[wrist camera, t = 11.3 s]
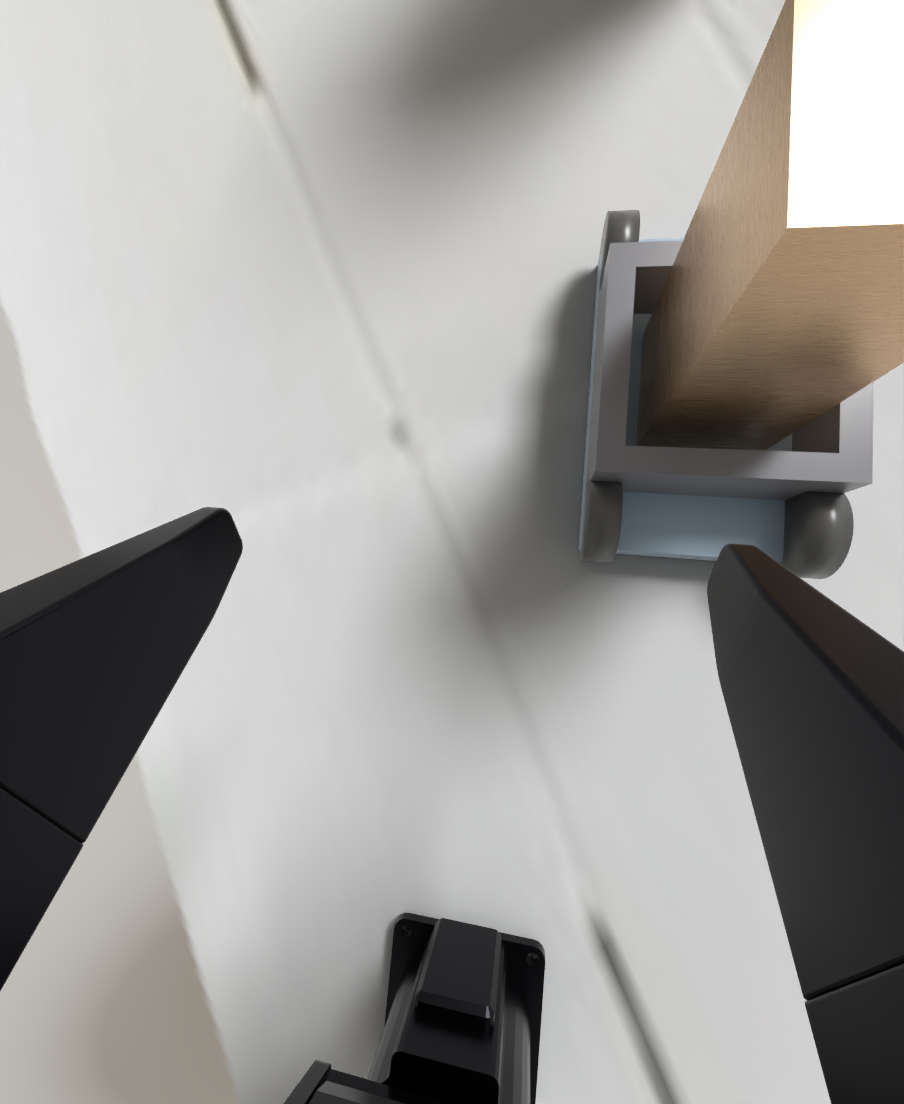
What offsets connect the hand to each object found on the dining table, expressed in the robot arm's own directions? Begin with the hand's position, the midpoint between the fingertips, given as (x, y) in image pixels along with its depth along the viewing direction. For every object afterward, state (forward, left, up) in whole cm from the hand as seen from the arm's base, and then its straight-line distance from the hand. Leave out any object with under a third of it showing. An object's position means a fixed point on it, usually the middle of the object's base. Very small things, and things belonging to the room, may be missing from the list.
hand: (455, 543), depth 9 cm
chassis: (+9, -8, -14) cm, 18 cm away
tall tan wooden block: (+9, -8, -12) cm, 17 cm away
